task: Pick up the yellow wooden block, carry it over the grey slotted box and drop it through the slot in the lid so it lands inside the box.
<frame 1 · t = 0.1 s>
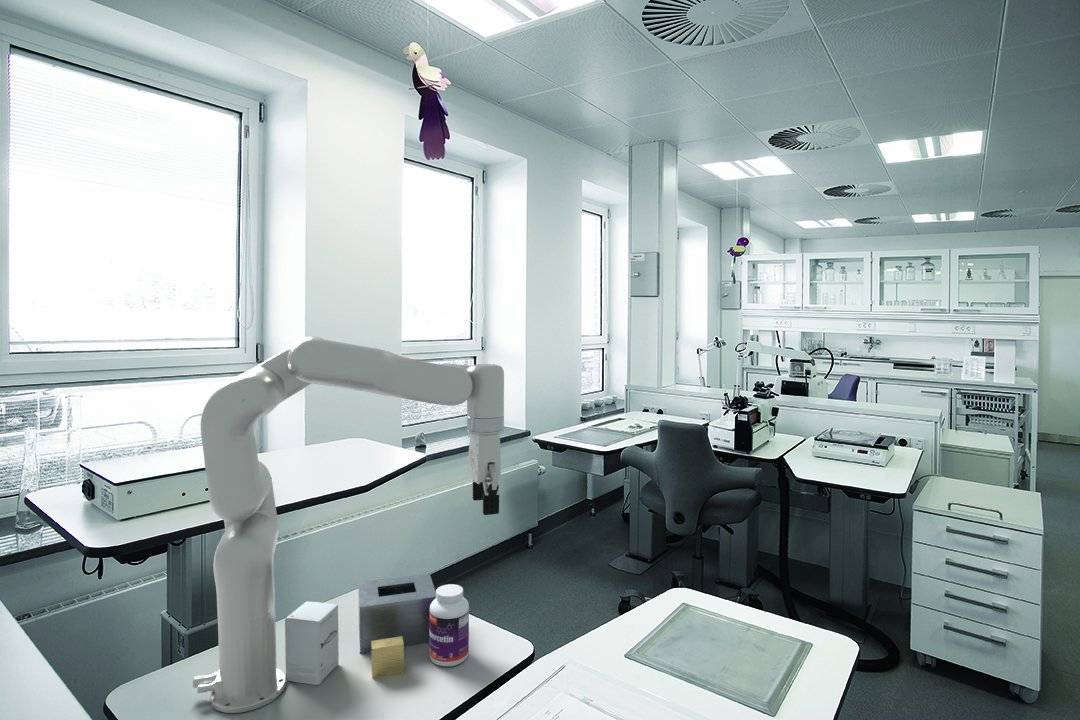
hand: (485, 506, 122), 31 cm above the lab bench, fingers open, 9 cm apart
grey slotted box: (397, 633, 131), on the lab bench
pill bottle: (449, 658, 122), on the lab bench
supplement box: (313, 673, 117), on the lab bench
yellow wooden block: (387, 671, 117), on the lab bench
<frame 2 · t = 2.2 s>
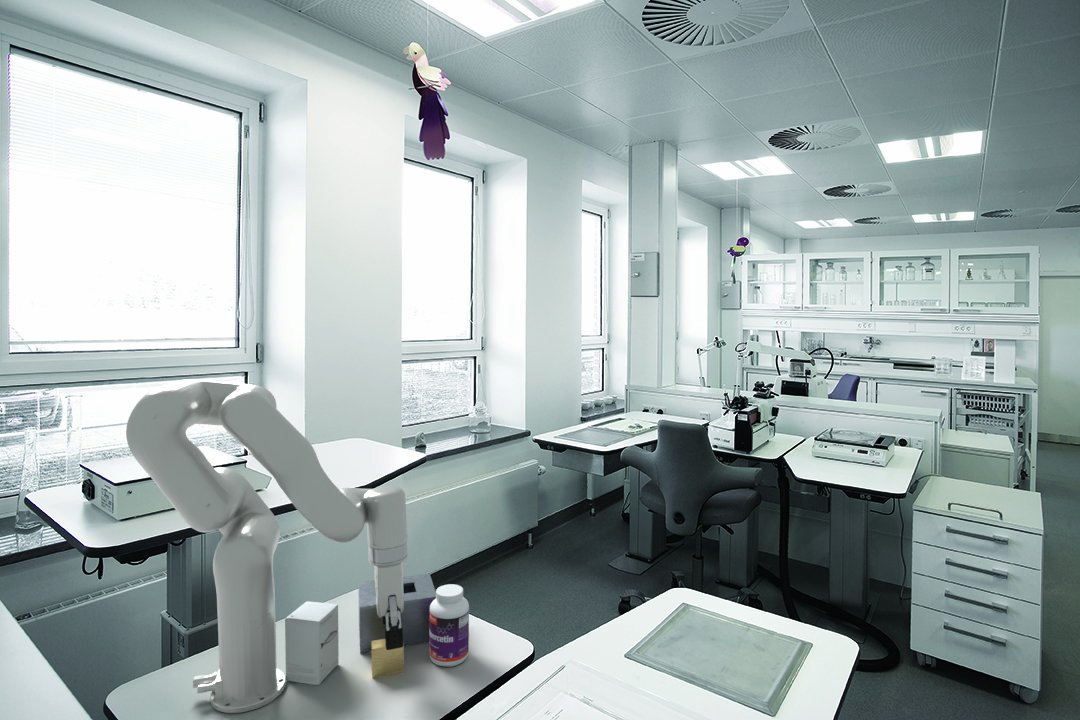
hand: (392, 634, 117), 7 cm above the lab bench, fingers open, 9 cm apart
nothing on the lab bench moved.
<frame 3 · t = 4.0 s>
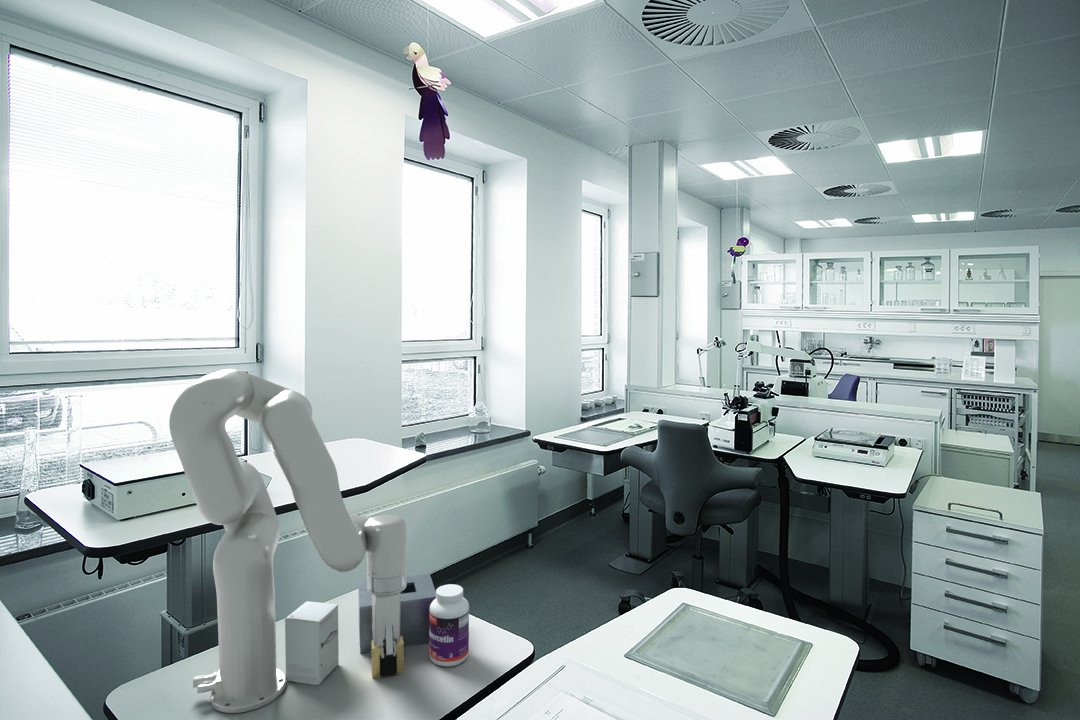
hand: (387, 669, 117), 0 cm above the lab bench, fingers closed on yellow wooden block, 2 cm apart
yellow wooden block: (387, 671, 117), on the lab bench, touching gripper
everything else where it was.
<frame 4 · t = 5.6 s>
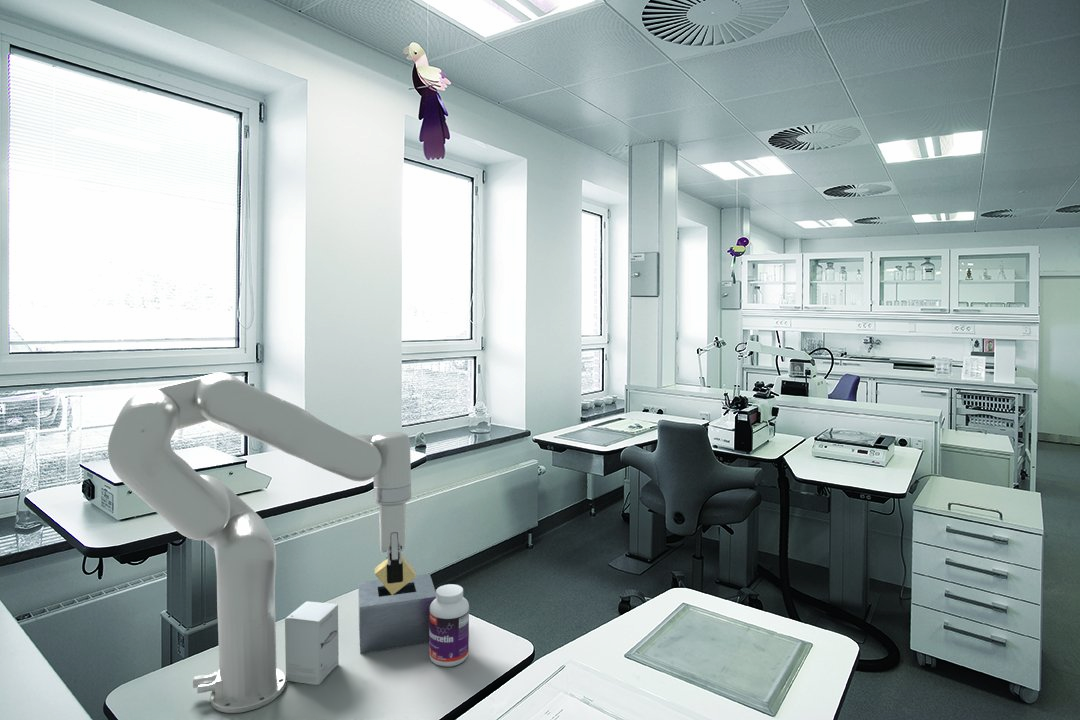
hand: (394, 577, 124), 16 cm above the lab bench, fingers closed on yellow wooden block, 2 cm apart
yellow wooden block: (404, 582, 124), point 14 cm above the lab bench, tilted 35°, touching gripper
everything else where it was.
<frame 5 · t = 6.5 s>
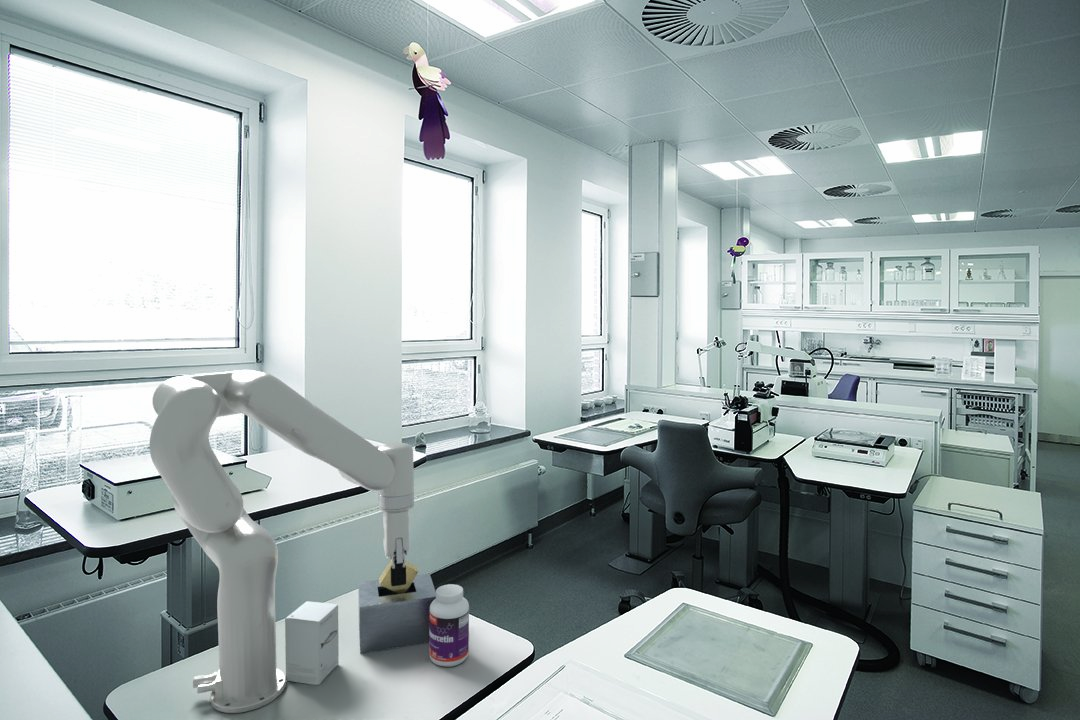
hand: (398, 580, 131), 12 cm above the lab bench, fingers closed on yellow wooden block, 2 cm apart
yellow wooden block: (410, 580, 132), point 11 cm above the lab bench, tilted 57°, touching gripper
everything else where it was.
when the fingers open (11 cm above the lab bench, at t = 7.2 s): yellow wooden block drops 8 cm and tips over, resting on grey slotted box.
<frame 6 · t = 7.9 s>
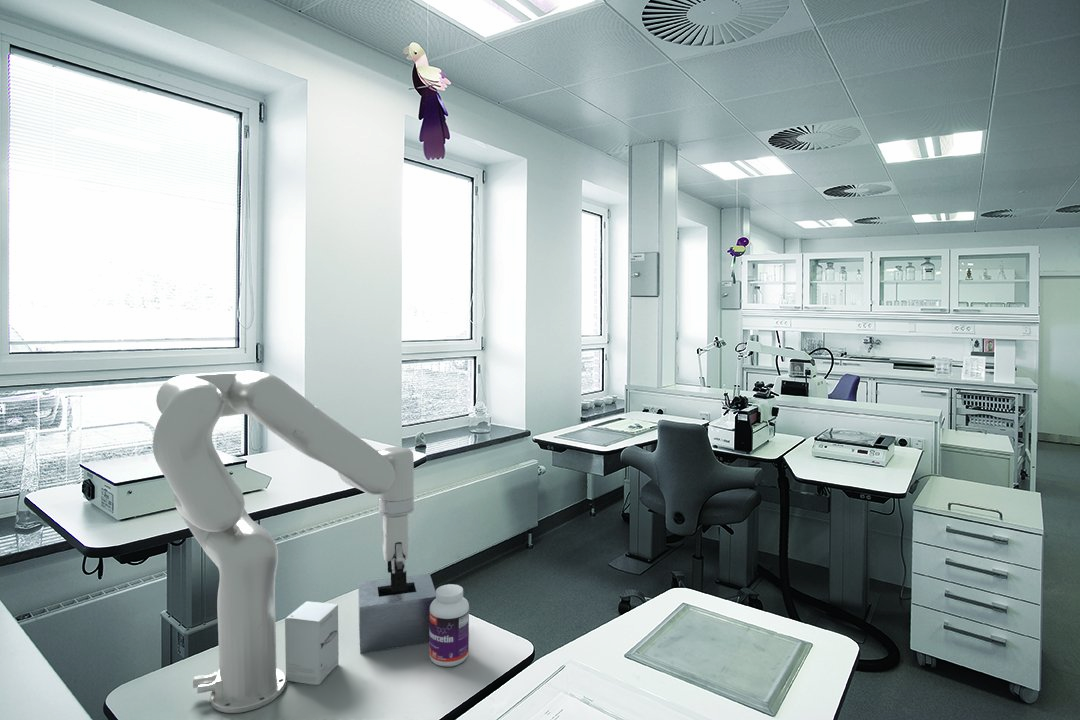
hand: (396, 580, 130), 12 cm above the lab bench, fingers open, 9 cm apart
yellow wooden block: (408, 615, 132), point 4 cm above the lab bench, tilted 90°, touching grey slotted box
everything else where it was.
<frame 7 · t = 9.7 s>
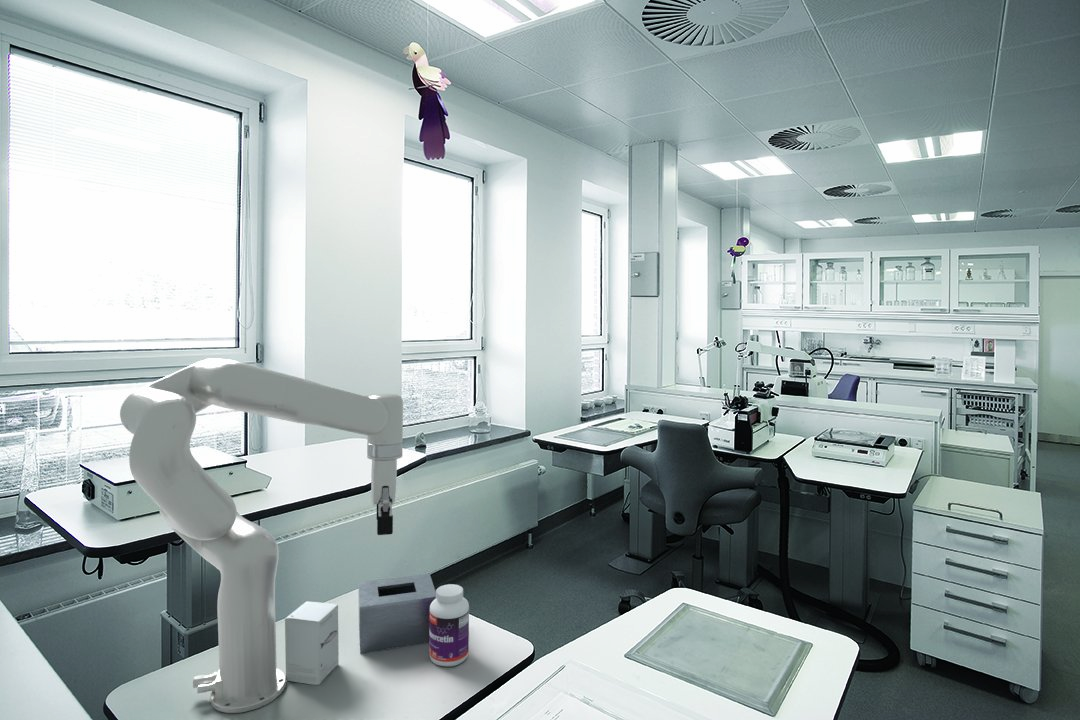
hand: (384, 526, 131), 24 cm above the lab bench, fingers open, 9 cm apart
nothing on the lab bench moved.
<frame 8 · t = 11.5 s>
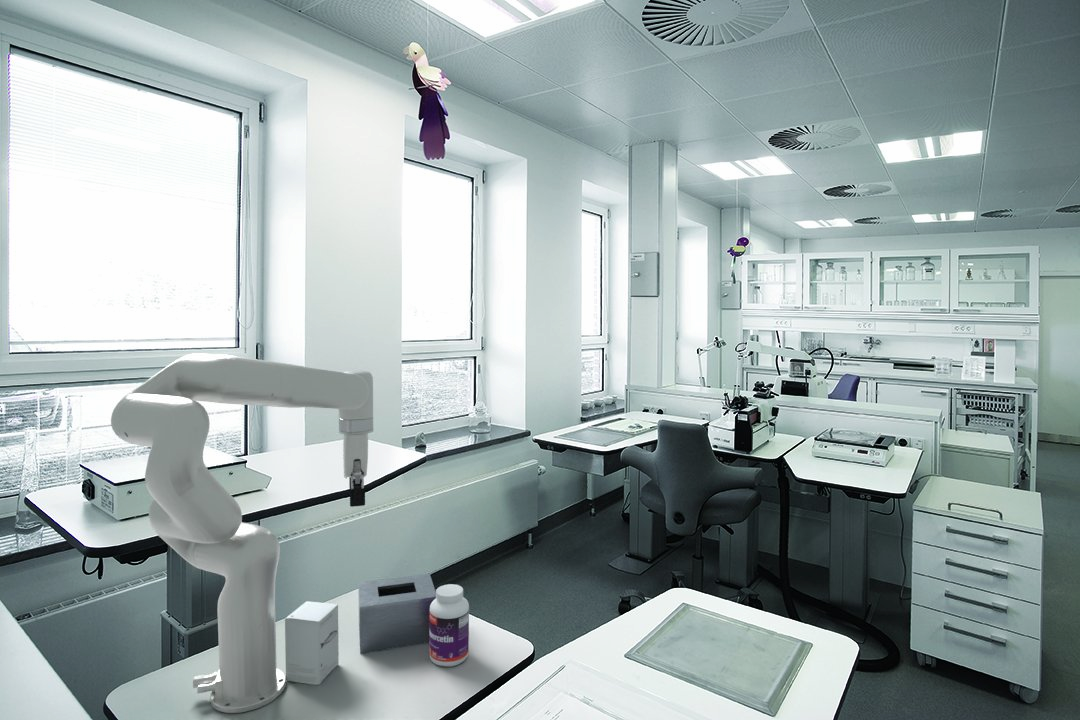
hand: (357, 499, 135), 28 cm above the lab bench, fingers open, 9 cm apart
nothing on the lab bench moved.
at the end: yellow wooden block inside the target area on the grey slotted box (2.5 cm from its centre), point 3.6 cm above the grey slotted box's base; the gripper is holding nothing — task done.
